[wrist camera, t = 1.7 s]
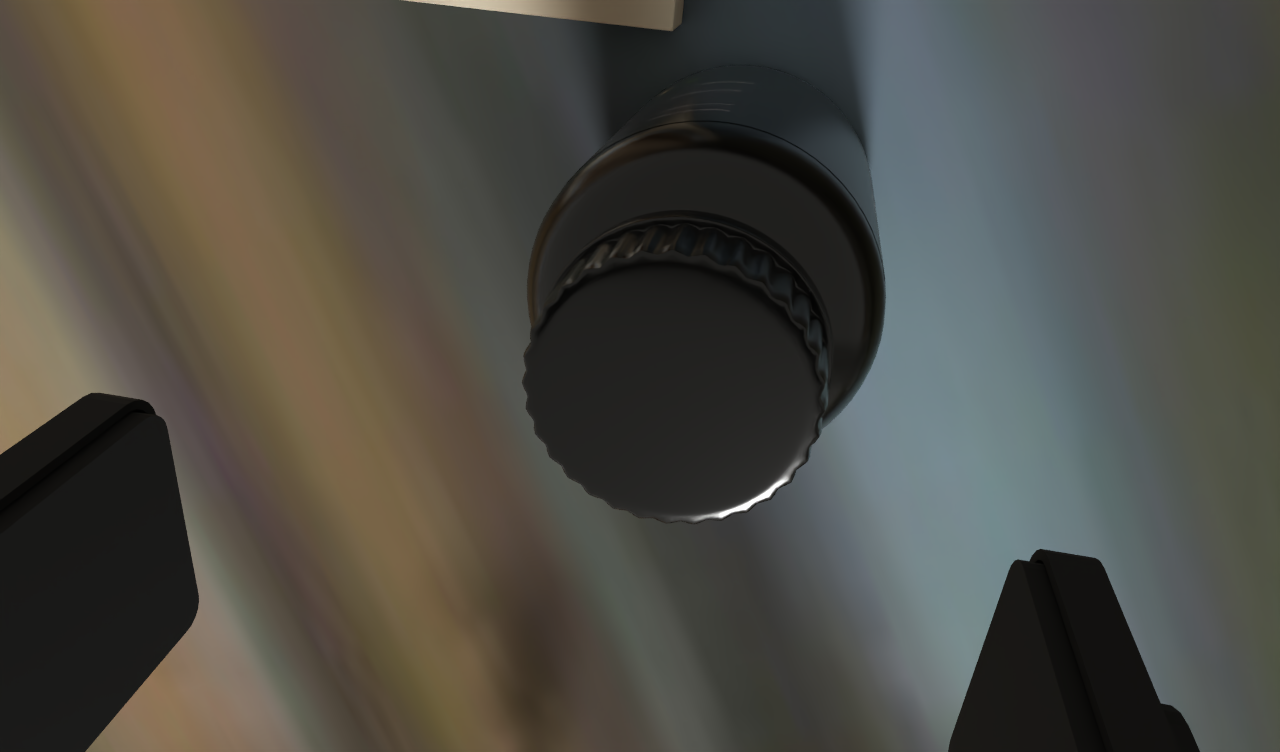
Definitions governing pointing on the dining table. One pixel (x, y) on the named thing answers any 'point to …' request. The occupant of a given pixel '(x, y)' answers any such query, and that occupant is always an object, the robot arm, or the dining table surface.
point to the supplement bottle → (705, 296)
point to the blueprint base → (587, 10)
